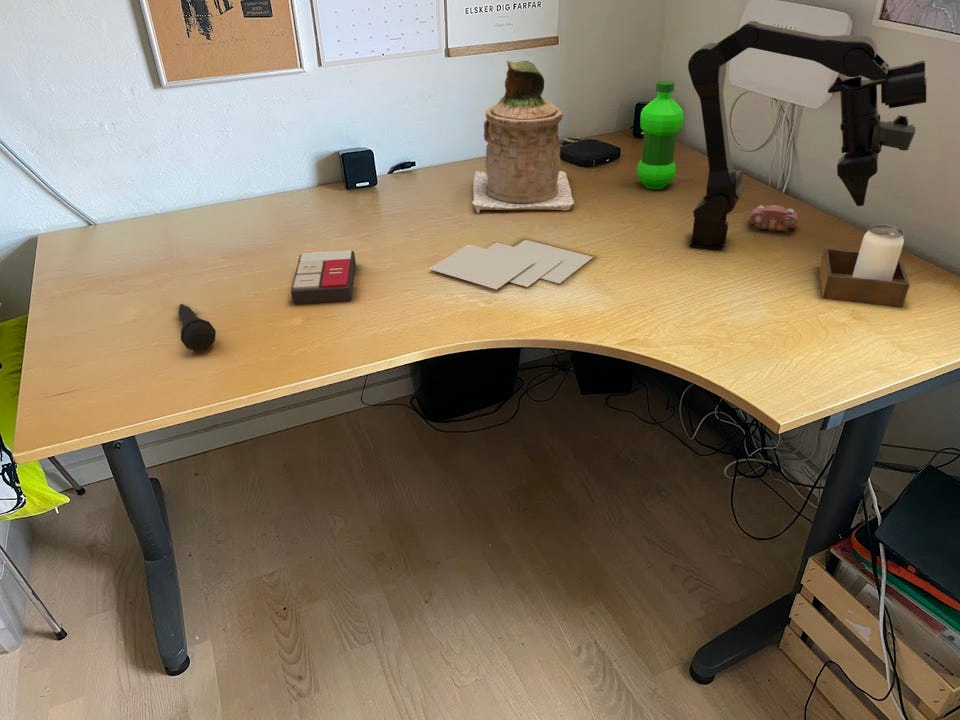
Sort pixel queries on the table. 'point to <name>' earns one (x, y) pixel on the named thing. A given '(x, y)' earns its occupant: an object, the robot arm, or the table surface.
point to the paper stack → (511, 264)
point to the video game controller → (774, 217)
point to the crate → (860, 281)
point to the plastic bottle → (659, 138)
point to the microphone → (195, 330)
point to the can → (879, 253)
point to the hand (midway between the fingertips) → (862, 197)
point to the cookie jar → (522, 148)
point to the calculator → (324, 277)
